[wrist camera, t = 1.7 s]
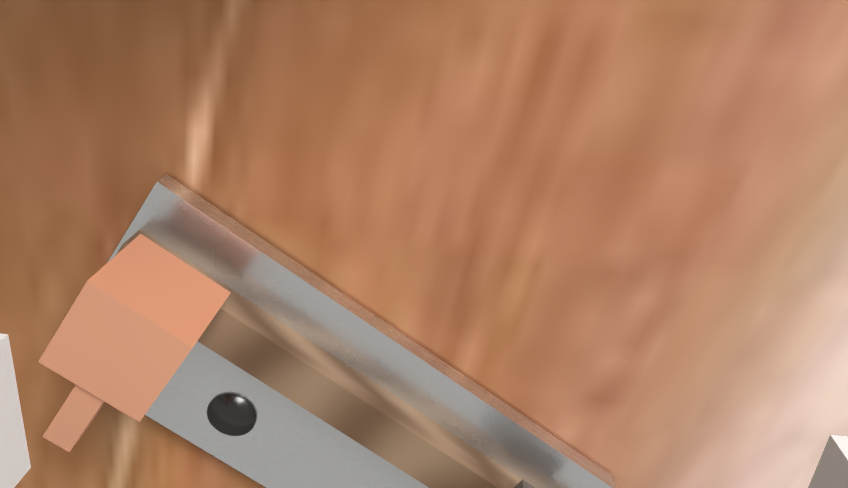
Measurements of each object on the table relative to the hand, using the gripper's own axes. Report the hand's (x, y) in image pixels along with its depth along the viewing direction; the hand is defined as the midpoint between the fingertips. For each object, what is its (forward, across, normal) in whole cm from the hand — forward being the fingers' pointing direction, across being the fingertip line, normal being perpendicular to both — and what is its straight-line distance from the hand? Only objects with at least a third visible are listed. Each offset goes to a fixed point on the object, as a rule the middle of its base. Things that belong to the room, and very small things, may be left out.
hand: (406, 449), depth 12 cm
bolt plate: (+24, -4, -18) cm, 31 cm away
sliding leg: (+23, -14, -12) cm, 29 cm away
